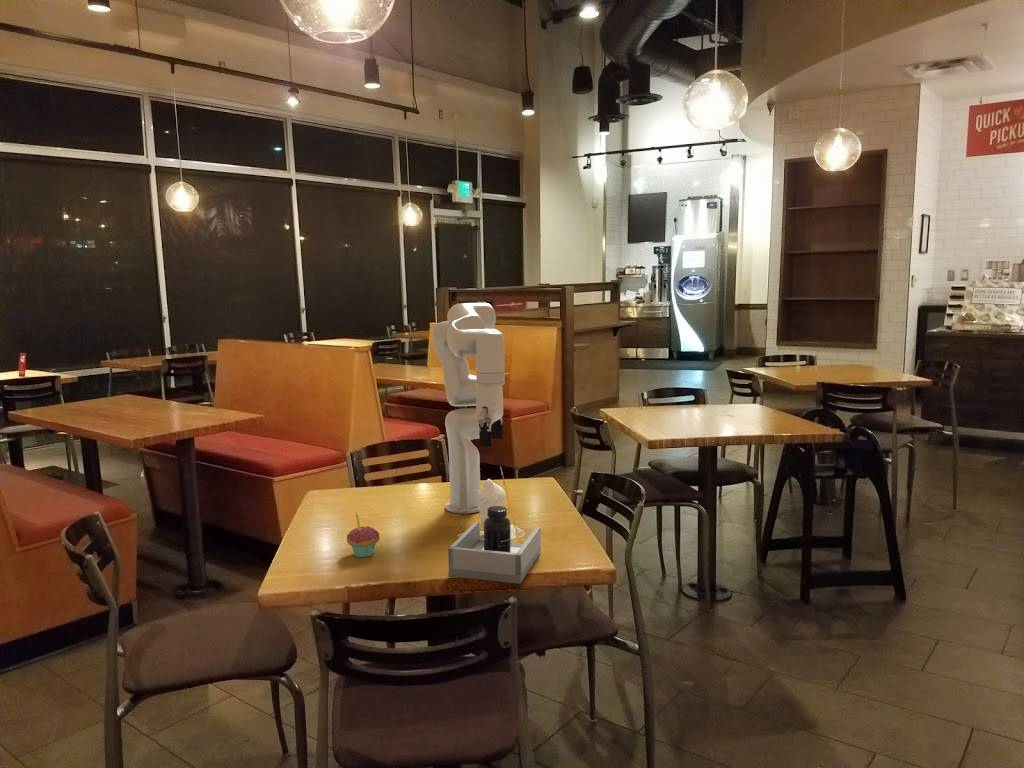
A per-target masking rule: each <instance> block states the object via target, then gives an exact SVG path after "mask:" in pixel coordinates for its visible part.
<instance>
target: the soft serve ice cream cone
mask: <svg viewBox="0 0 1024 768" xmlns="http://www.w3.org/2000/svg"><path fill="white" fill-rule="evenodd" d="M476 495H477V497H476V499H477V500H478V505H479V517H480V522H481V526H482V530H483V532H484V521H485V519H486V518H488V516H487V513H488V508H489V507H492V506H503V507H504V503H505V500H506V491H505V490H504V488H503V487H501V486H500V485H499V484H496V483H495V482H493V481H492V479H490V478H488V479H486V480H485V481H484V483H483V485H482V486H481V487H480V489H479V490H478V492H477V494H476Z"/></svg>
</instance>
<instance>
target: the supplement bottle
mask: <svg viewBox="0 0 1024 768" xmlns="http://www.w3.org/2000/svg"><path fill="white" fill-rule="evenodd" d="M507 511H508V509H507V507H505V506H504V505H503V506H492V507H489V508H488V513H487V516H488V518H486V519H485V521H484V531H483V540H484V550H489V551H500V552H511V543H512V541H511V539H512V538H511V534H512V533H511V529H512V528H511V526H512V525H511V523H512V522H511V520H510V519H509V518H508V513H507Z"/></svg>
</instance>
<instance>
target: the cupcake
mask: <svg viewBox="0 0 1024 768" xmlns="http://www.w3.org/2000/svg"><path fill="white" fill-rule="evenodd" d="M359 517H360V516H359V514H358V512H355V518H356V519H355V520H356V525H357V526H356V527H355V528H354V529H352V530H350V531H349V532H348V533H347V535H346V543H347V544H348V545H349V546H350V547H351V548H352V551H353V554H354V556H355V557H357V558H367V557H370V556H372V555H373V554H374V551H375V548H376V545H377V544H378V542H379V541H380V539H381V536H380V532H379V531H378V530H376V529H375V528H373V527H370V526H369V525H367V526H361V523H360V518H359Z"/></svg>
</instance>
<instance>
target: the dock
mask: <svg viewBox="0 0 1024 768" xmlns="http://www.w3.org/2000/svg"><path fill="white" fill-rule="evenodd" d="M480 528H481V527H480V522H479V521H474V522H473V523H472V524H471V525H470V526H469V527H468V528H467V529H466V530H465V531H464V532H463V533H462V534H461V535H460V536H459V537H458V538H457V539H456V540H455V541H454V542H453V543H452V544H451V545H450V546H449V547H448V548H447V549H448V550H447V551H448V552H447V553H448V556H447V557H448V560H447V561H448V577H455V578H464V579H473V580H480V581H481V580H483V581H492V582H501V583H511V584H518V585H521V584H522V582H523V581H524V579H525V578H526V576H527V574H528V573H529V571H530V570H531V568H532V567H533V565H534V564H535V562H536V561H537V559H538V558H539V556H540V555H541V553H542V552H541V550H542V549H541V527H540V526H535V528H534V529H533V530H532V532H531V533H530V534H529V536H527V539H525V541H524V542H523V543H515V542H511V552H500V551H489V550H484V539H483V540H482V539H481V535H480V531H481V530H480ZM540 552H541V553H540ZM539 554H540V555H539ZM538 555H539V556H538ZM537 557H538V558H537ZM536 558H537V559H536ZM535 560H536V561H535ZM534 561H535V562H534ZM533 563H534V564H533ZM532 564H533V565H532ZM531 566H532V567H531ZM529 569H530V570H529ZM527 572H528V573H527Z"/></svg>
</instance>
